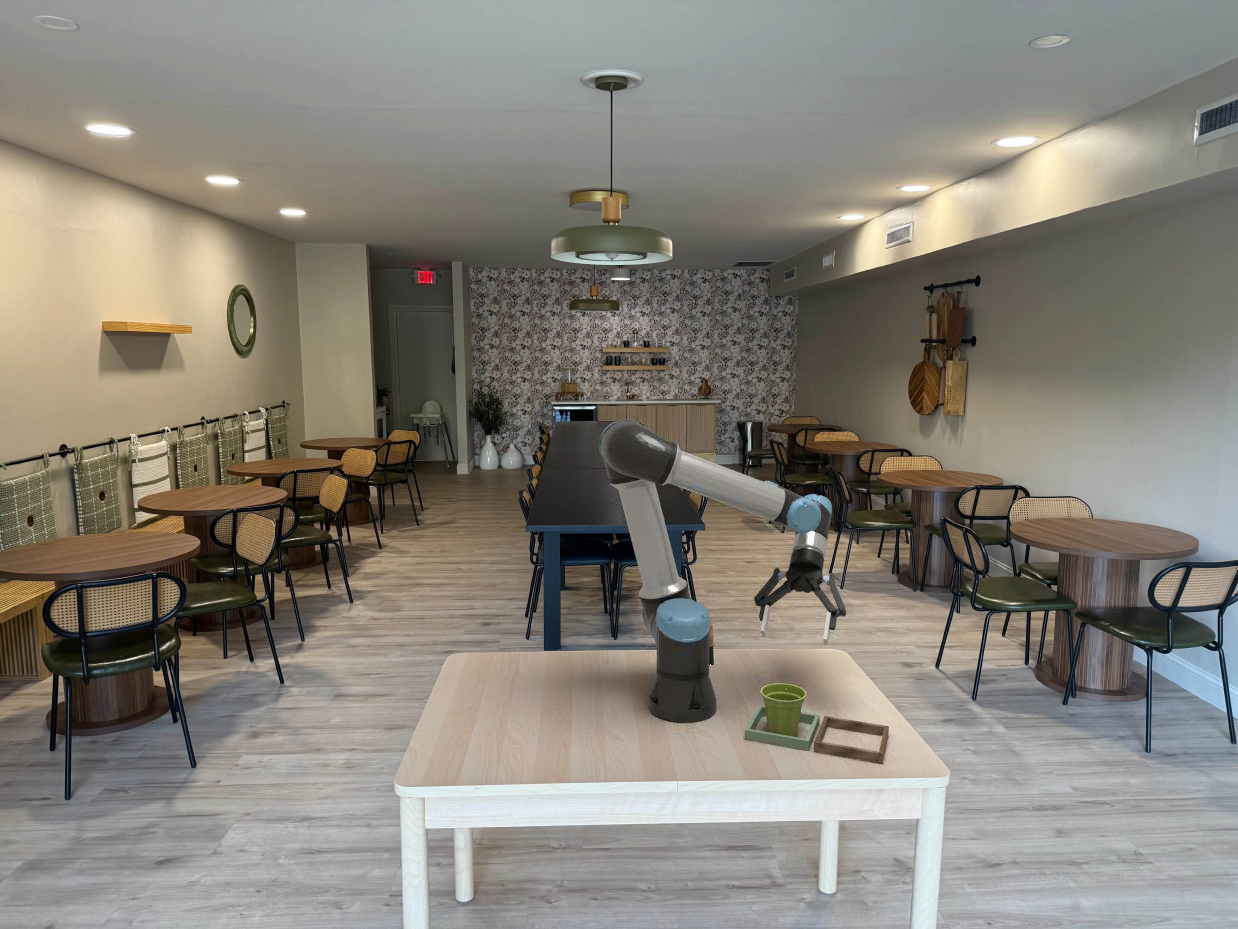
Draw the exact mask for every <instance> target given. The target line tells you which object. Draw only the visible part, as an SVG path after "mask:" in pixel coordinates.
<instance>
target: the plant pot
mask: <svg viewBox="0 0 1238 929" xmlns="http://www.w3.org/2000/svg"><path fill="white" fill-rule="evenodd" d="M759 692H760V695H761V697H762V699H763V700H762V701H763V702H764V706H765V709H766V724H767V725H766V726H767V730H768V731H767V732H769V733H775V734H781V735H787V736H792V737H796V736H797V734H798V731H799V727H800V722H799V721H800V715H801V712H802V708H803V705H804V702H805V699H806V698H807V694H808V693H807V691H806V690H805V689H804V688H802V687H800V686H798V685H796V684H795V685H794V684H792V683H791V684H790V683H782V682H779V683H778V682H777V683H769V684H766V685H764V686H762V687H761V689H760V691H759Z"/></svg>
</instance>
